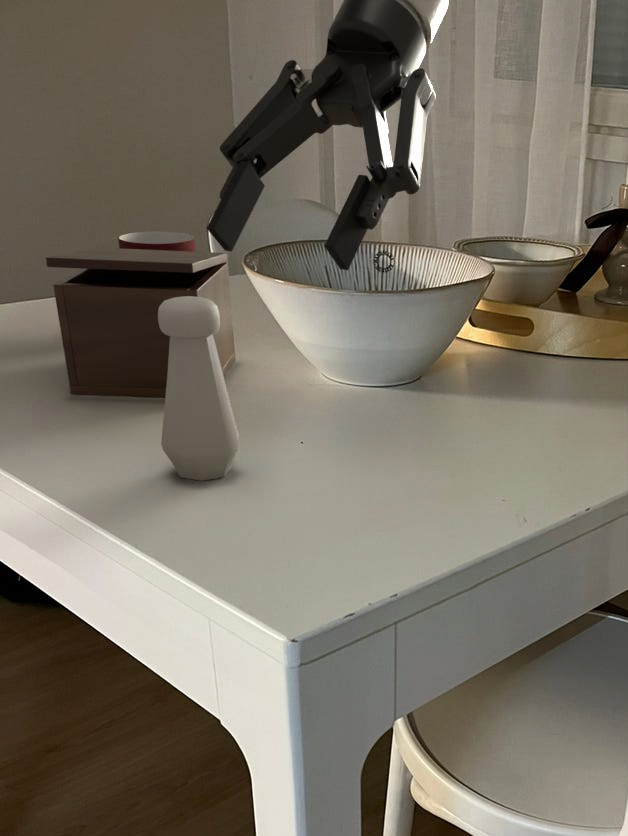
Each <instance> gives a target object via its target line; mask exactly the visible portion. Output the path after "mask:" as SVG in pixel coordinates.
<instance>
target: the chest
mask: <svg viewBox="0 0 628 836" xmlns="http://www.w3.org/2000/svg"><path fill="white" fill-rule="evenodd" d="M229 273H230V272H229V262H228V261H227V262H224V263H221V264H218V265H215V266H212V267H209V268H206V269H203V270H200V271H197V272H194V273H179V272H155V271H131V270H107V269H82V268H78V270H76V271H74V272H73V273H71V274H69V275H67V276H66V277H64V278H62V279H60V280H59V281H57V282H56V283H54V284H53V293H54V298H55V299H54V300H55V304H56V310H57V316H58V317H57V318H58V323H59V330H60V335H61V341H62V347H63V353H64V361H65V366H66V372H67V378H68V384H69V392H70V394H71V395H88V396H89V395H90V396H91V395H92V396H93V395H94V396H114V397H115V396H117V397H118V396H119V397H144V398H146V397H147V398H165V397H166V386H167V374H168V359H169V344H170V336H168V335H166V334H164V333H163V332H162V331H161V329H160V327H159V322H158V308H159V306H160V305H161V304H162V303H163V302H164V301H165V300H168V299H171V298H175V297H184V296H193V297H201V298H205V299H209V300H211V301H212V302H213V303H214V304H215V305H216V306H217V307H218V311H219V314H220V327H219V330H218V332H217V333H215V334H213V337H214V341H215V345H216V349H217V353H218V357H219V361H220V364H221V368H222V372H223V376H224V377H225V375H226V374H227V372H228V371H229V369H230V368H231V367H232V366H233V364H235V361H236V351H235V350H236V348H235V337H234V335H235V334H234V324H233V311H232V298H231V297H232V296H231V284H230V274H229Z"/></svg>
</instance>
